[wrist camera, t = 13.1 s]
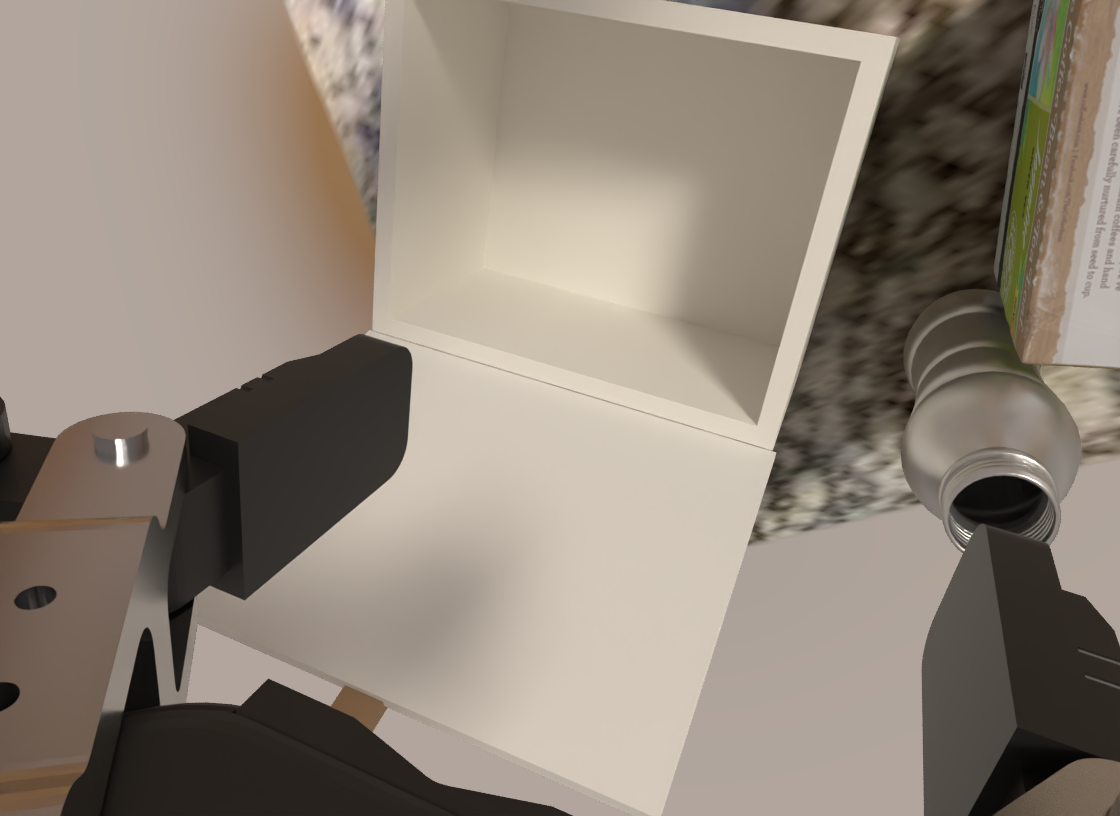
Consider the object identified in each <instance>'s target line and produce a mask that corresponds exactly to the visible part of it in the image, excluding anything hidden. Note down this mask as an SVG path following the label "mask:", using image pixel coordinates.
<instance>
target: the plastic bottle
mask: <svg viewBox="0 0 1120 816" xmlns="http://www.w3.org/2000/svg"><path fill="white" fill-rule="evenodd" d="M903 364H904V369H905V372H906V376H907V379H908V381H909V384H910V386H911V388H912V390H913V391H914V393H915V397H916V398H915V405H914V409H913V411H912V414H911V416H910V418H909V421H908V423H907V426H906V428H905V432H904V437H903V443H902V449H901V460H902V468H903V472H904V475H905V478H906V481H907V482H908V484H909V486H910V488H911V489H912V491H913V493H914V494H915V495H916V497H917V498H918V500H919V501H920V502H921V503H922V504H923V505H924V506H925V507H926V509H927V510H928V511H930V512H931V513H932V514H934V515H935V516H936V517H937V518H939V519H940V520H942V521H943V524H944V527H945V531H946V533H947V535H948V537H949V538H950V540H951V542H952V543H953V544H954V545H955V546H956V547H957V549H958V550H960V551H961V552H962V553H964V550H965V548H966V546H967V544H968V542H969V540H970V538H971V536H972V534H973V532H974V531H975V529H976V528H977V527H978V526H979V525H980V524H986V525H989V526H993V527H996V528H999V529H1002V530H1006V531H1009V532H1012V533H1016V534H1019V535H1022V536H1026V537H1029V538H1032V539H1035V540H1039V541H1042V542H1045V543H1047V544H1048V545H1050V544H1051V543H1052V542H1053V541H1054V539H1055V537H1056V535H1057V533H1058V531H1059V527H1060V523H1061V510H1060V505H1059V504H1060V503H1061V502H1062V500H1063V499H1064V498H1065V497H1066V496H1067V494H1068V492H1069V490H1070V488H1071V486H1072V484H1073V483H1074V480H1075V477H1076V475H1077V472H1078V468H1079V464H1080V460H1081V440H1080V436H1079V431H1078V427H1077V426H1076V424H1075V422H1074V420H1073V418H1072V416H1071V414H1070V413H1069V411H1068V410H1067V408H1066V406H1065V405H1064V404H1063V403H1062V401H1061V400H1060V399H1059V398H1058V397H1057V396H1056V394H1055V393H1053V392H1052V390H1051V389H1050V388H1049V387H1048V386H1047V385H1046V384H1045V383H1044V381H1043V380H1042V378H1041V376H1040V367H1041V365H1036V364H1025V363H1022V362H1021V360H1020V358H1019V355H1018V353H1017V351H1016V349H1015V346H1014V343H1013V340H1012V336H1011V332H1010V327H1009V323H1008V321H1007V319H1006V315H1005V309H1004V305H1003V303H1002V299H1001V296H1000V293H999V292H995V291H991V290H987V289H966V290H960V291H956V292H953V293H950V294H947V295H945V296H943V297H941V298H939V299H937V300H936V301H935V302H933V303H932V304H931V305H929V306H928V307H927V308H926V309H925V310H924V311H923V312H922V313H921V314H920V315H919V317H918V318H917V320H916V321H915V323H914V325H913V326H912V328H911V329H910V331H909V333H908V336H907V338H906V341H905V344H904V351H903Z"/></svg>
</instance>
